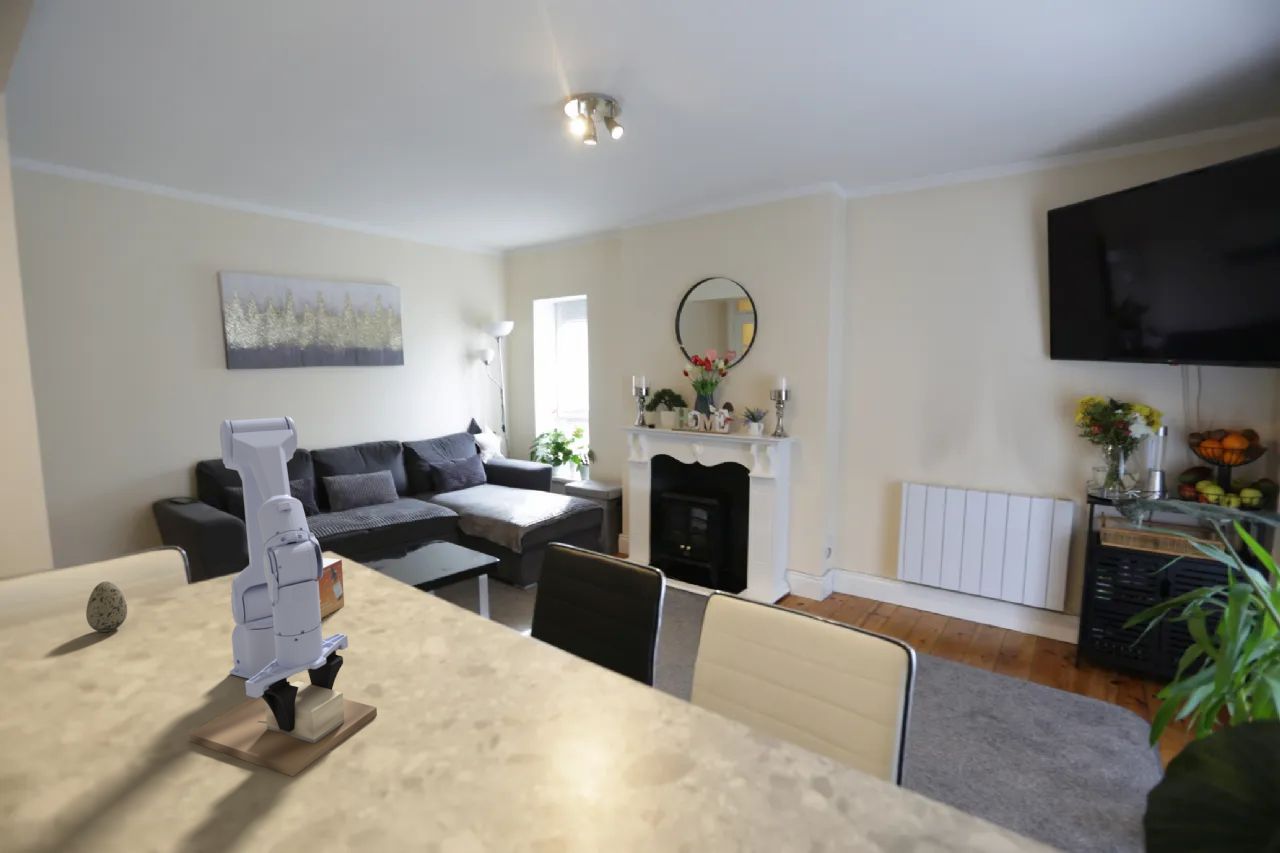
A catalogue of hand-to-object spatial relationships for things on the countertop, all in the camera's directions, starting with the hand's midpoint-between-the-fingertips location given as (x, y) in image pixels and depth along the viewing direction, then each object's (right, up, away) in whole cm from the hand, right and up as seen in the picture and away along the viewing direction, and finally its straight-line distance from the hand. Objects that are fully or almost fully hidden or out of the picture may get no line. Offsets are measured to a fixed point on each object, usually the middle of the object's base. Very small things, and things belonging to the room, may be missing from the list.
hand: (304, 717), depth 84 cm
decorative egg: (-57, +1, +32) cm, 66 cm away
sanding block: (0, -1, 0) cm, 1 cm away
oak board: (-4, -2, +2) cm, 4 cm away
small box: (-20, +2, +41) cm, 45 cm away
